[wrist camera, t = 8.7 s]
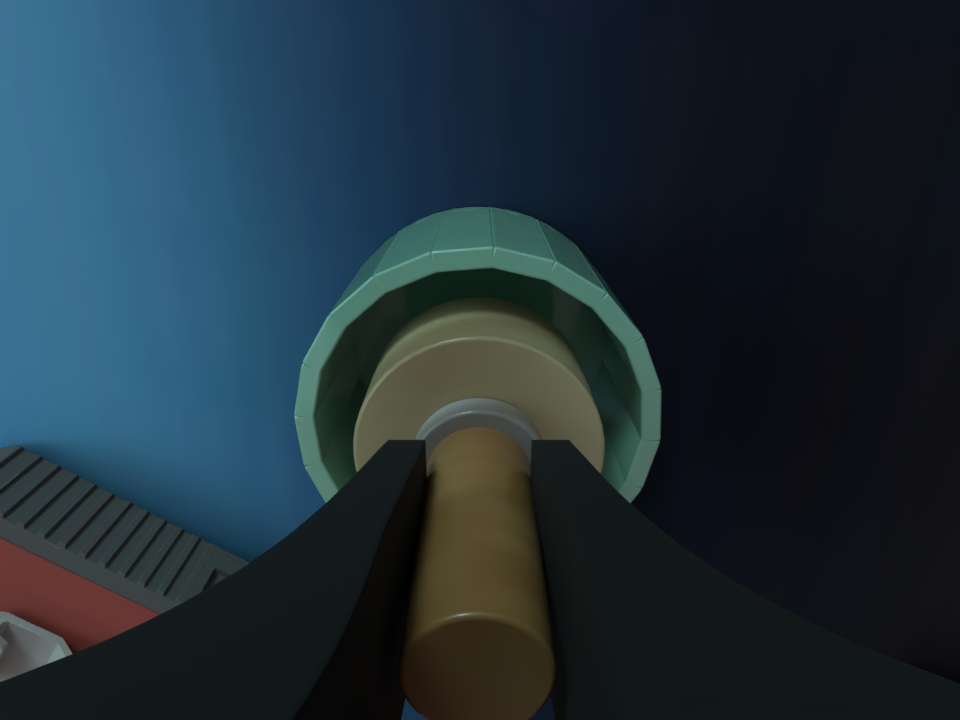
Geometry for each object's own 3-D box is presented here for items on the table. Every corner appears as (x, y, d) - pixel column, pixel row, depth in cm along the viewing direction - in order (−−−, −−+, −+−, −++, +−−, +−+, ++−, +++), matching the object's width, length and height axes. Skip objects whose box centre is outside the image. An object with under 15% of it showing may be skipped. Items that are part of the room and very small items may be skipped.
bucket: (649, 243, 17) (715, 298, 12) (570, 483, 19) (599, 604, 15) (368, 175, 16) (325, 206, 12) (325, 432, 19) (274, 542, 14)
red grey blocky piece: (-127, 611, 21) (411, 847, 25) (-274, 735, 17) (398, 993, 21) (-35, 402, 18) (548, 703, 23) (-184, 490, 14) (564, 839, 18)
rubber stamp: (591, 296, 14) (708, 504, 7) (579, 489, 15) (662, 817, 8) (366, 296, 14) (246, 503, 7) (378, 489, 15) (293, 818, 8)
